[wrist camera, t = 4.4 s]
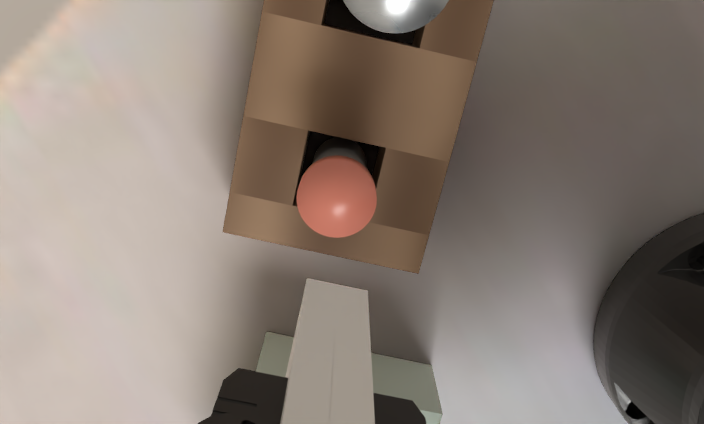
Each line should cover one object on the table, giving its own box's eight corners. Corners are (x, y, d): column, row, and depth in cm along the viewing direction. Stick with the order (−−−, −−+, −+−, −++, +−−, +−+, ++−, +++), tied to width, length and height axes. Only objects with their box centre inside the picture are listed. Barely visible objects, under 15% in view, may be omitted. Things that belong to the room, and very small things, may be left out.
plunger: (378, 139, 34) (384, 170, 27) (363, 200, 35) (366, 245, 28) (314, 125, 34) (305, 152, 27) (301, 186, 35) (289, 228, 28)
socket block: (503, -95, 32) (523, -109, 28) (411, 246, 37) (418, 273, 33) (301, -145, 31) (293, -167, 27) (236, 208, 36) (222, 232, 32)
